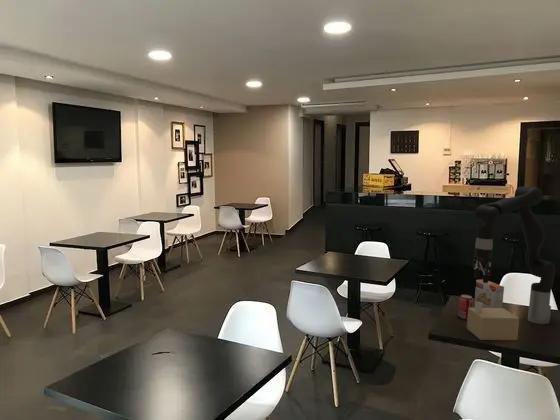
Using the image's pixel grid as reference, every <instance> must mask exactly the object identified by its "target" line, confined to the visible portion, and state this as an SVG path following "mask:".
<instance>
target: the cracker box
mask: <svg viewBox="0 0 560 420" xmlns="http://www.w3.org/2000/svg"><path fill="white" fill-rule="evenodd" d="M475 281H476V282H475V290H474V292H475V293H474V301H473V308H475V302H482V303H483V306H482V308H503V303H504V293H505V286H503V285H501V284H497V283H495V282H492V281H490V280H488V283H483V278H482V279H476V280H475Z"/></svg>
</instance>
